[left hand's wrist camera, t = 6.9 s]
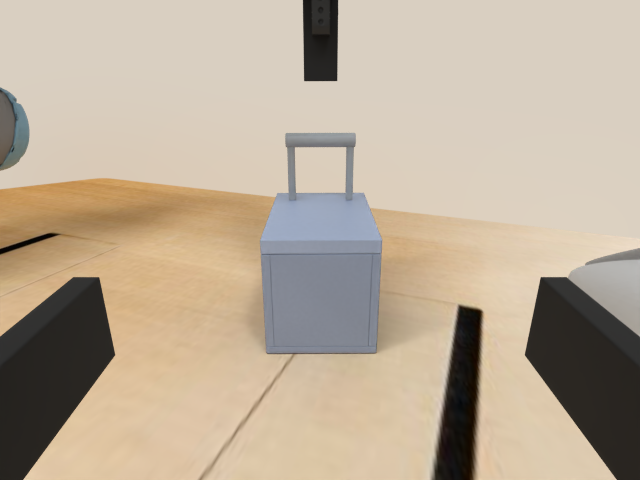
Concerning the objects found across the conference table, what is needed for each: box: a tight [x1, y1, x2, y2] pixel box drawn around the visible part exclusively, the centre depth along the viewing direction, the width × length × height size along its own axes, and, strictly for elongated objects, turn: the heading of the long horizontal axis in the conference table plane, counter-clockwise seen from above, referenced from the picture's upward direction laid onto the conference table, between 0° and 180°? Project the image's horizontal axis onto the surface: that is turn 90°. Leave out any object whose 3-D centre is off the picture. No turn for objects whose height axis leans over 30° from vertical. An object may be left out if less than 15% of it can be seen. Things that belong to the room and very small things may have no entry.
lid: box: [260, 133, 382, 254], centre depth 40 cm, size 15×10×8 cm, turn 0°
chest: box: [261, 254, 381, 353], centre depth 43 cm, size 14×10×10 cm
